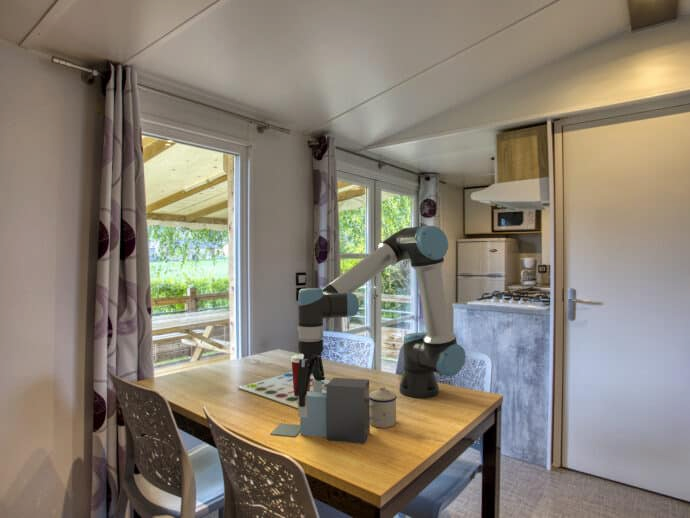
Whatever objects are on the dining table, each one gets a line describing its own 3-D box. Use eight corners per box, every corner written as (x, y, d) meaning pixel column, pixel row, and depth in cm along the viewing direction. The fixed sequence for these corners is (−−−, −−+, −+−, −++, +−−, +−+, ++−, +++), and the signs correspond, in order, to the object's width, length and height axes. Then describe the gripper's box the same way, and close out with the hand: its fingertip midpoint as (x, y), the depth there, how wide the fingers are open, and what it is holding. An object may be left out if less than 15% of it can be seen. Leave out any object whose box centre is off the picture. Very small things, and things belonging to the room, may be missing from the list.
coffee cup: (309, 399, 158) (308, 359, 158) (288, 397, 160) (287, 358, 160) (315, 391, 166) (314, 354, 166) (295, 390, 168) (294, 353, 168)
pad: (304, 426, 133) (304, 425, 133) (295, 437, 125) (295, 436, 125) (280, 424, 135) (280, 423, 135) (270, 434, 127) (270, 433, 127)
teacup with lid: (382, 415, 142) (382, 380, 142) (402, 423, 135) (402, 387, 135) (356, 424, 134) (355, 388, 134) (375, 433, 127) (375, 395, 127)
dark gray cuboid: (369, 432, 128) (369, 379, 128) (364, 444, 120) (363, 387, 120) (331, 428, 131) (330, 377, 131) (323, 439, 123) (323, 385, 123)
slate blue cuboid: (348, 433, 128) (348, 394, 127) (345, 439, 124) (344, 398, 124) (305, 429, 131) (304, 391, 131) (300, 434, 127) (299, 395, 127)
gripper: (312, 331, 141) (312, 394, 141) (283, 347, 117) (283, 423, 117) (333, 332, 139) (333, 396, 139) (308, 348, 115) (308, 425, 115)
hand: (310, 408), depth 128 cm, fingers open, 13 cm apart
